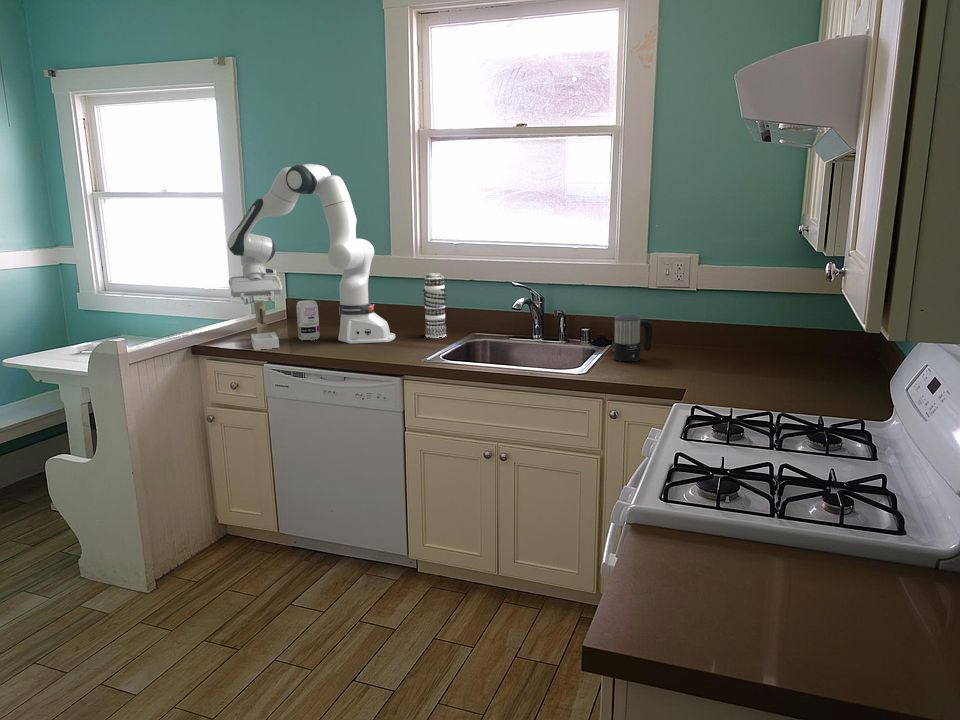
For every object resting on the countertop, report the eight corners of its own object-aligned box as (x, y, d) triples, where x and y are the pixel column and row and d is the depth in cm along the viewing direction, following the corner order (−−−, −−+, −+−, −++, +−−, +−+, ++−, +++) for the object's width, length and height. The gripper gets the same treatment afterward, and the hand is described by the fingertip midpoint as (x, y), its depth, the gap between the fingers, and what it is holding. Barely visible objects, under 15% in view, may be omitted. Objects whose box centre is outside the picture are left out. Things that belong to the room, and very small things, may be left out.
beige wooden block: (266, 337, 304) (263, 300, 301) (267, 339, 300) (264, 302, 296) (257, 338, 303) (254, 301, 300) (258, 340, 299) (255, 303, 295)
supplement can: (308, 336, 306) (306, 299, 302) (324, 338, 301) (321, 300, 298) (294, 339, 299) (291, 302, 295) (309, 341, 295) (307, 303, 291)
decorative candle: (440, 332, 309) (438, 271, 303) (451, 336, 301) (450, 274, 295) (420, 335, 304) (418, 273, 298) (431, 339, 296) (429, 275, 291)
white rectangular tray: (251, 344, 291) (250, 334, 290) (275, 342, 294) (274, 332, 294) (254, 350, 280) (253, 340, 280) (279, 348, 284) (278, 337, 283)
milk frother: (626, 364, 252) (628, 320, 249) (593, 355, 265) (594, 314, 261) (655, 358, 260) (657, 315, 257) (622, 350, 273) (623, 309, 269)
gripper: (227, 272, 305) (231, 299, 298) (279, 269, 312) (284, 296, 305) (228, 282, 310) (231, 309, 303) (279, 279, 317) (283, 305, 310)
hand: (258, 302), depth 304 cm, fingers open, 8 cm apart
